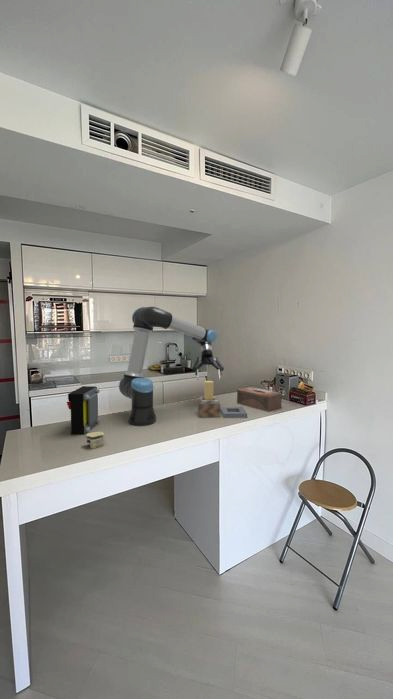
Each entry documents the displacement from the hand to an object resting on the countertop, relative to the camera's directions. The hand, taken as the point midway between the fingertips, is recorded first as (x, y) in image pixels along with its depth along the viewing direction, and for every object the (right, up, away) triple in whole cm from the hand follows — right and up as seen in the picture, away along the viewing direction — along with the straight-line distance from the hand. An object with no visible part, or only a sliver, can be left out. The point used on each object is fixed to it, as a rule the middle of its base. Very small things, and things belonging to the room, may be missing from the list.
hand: (208, 379), depth 181 cm
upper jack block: (-1, -21, -6) cm, 22 cm away
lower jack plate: (+14, -21, -5) cm, 26 cm away
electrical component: (-65, -22, -32) cm, 76 cm away
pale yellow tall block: (0, -13, -7) cm, 14 cm away
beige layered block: (-52, -24, -54) cm, 79 cm away
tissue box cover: (+34, -20, +15) cm, 42 cm away
